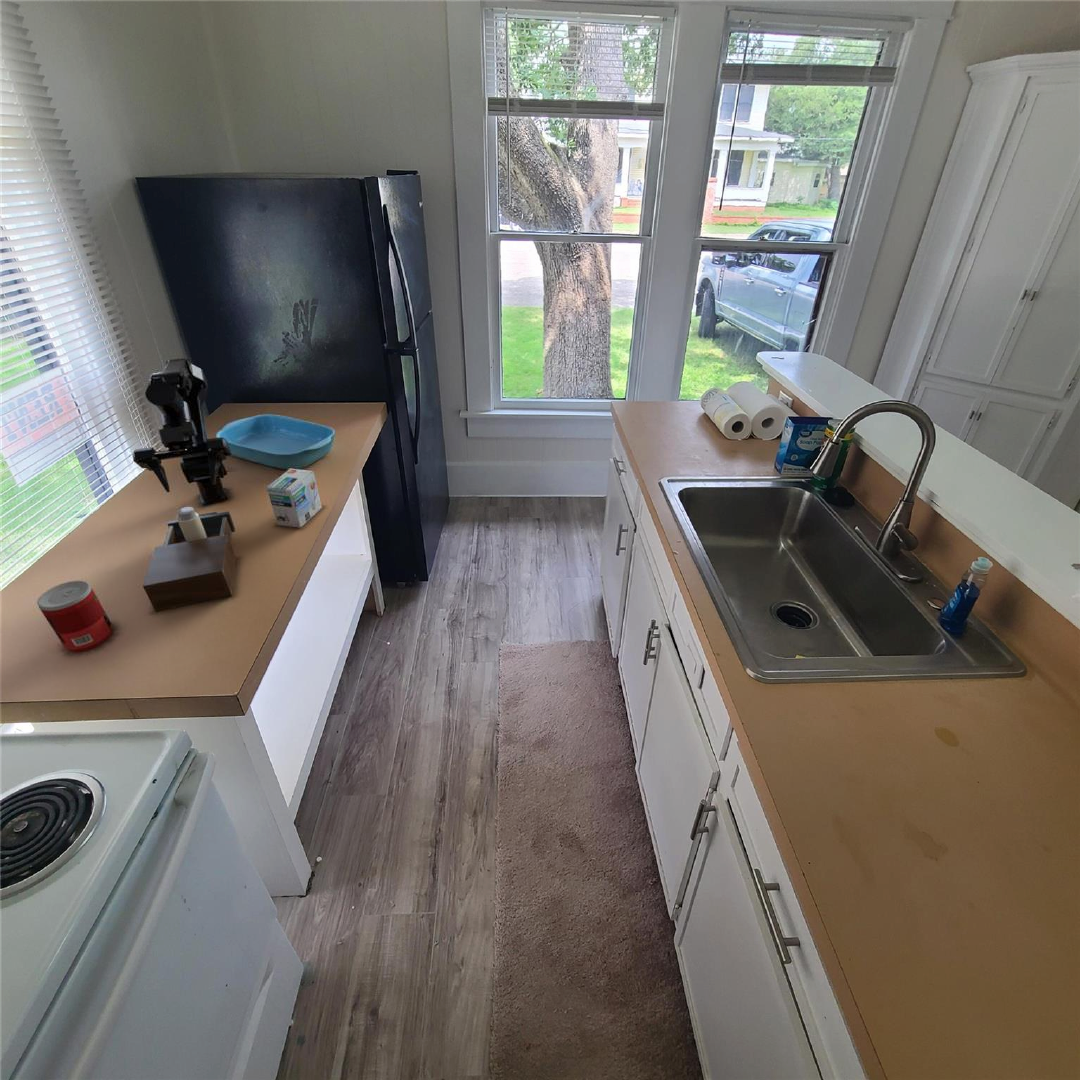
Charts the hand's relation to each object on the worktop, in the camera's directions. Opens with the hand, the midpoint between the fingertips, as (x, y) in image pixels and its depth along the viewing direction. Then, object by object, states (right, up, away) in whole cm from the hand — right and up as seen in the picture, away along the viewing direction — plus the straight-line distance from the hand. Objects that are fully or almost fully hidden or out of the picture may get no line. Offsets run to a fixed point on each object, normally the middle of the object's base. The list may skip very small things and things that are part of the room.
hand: (190, 488), depth 130 cm
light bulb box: (+18, -6, +16) cm, 25 cm away
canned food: (-7, -31, -20) cm, 38 cm away
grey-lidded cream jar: (+2, -14, +1) cm, 14 cm away
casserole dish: (0, +15, +47) cm, 49 cm away
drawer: (0, -13, +4) cm, 13 cm away
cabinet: (+6, -21, -7) cm, 23 cm away
